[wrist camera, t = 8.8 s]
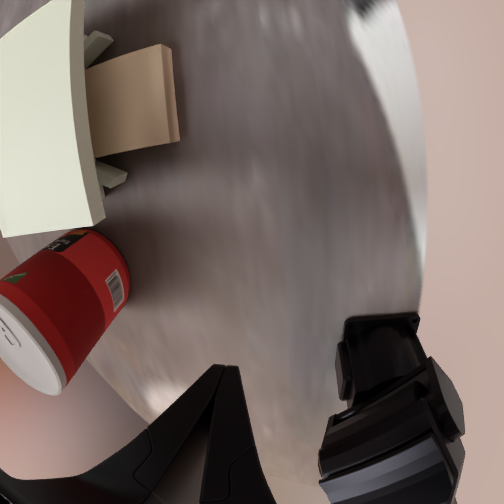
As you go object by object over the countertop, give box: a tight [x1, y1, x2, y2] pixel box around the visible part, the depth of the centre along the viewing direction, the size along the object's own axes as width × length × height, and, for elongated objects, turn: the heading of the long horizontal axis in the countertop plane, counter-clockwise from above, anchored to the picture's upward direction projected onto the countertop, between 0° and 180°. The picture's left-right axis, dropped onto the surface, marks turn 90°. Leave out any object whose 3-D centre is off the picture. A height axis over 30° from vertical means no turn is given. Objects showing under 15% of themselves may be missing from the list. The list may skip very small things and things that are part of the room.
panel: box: [84, 44, 180, 158], centre depth 16 cm, size 10×6×2 cm, turn 95°
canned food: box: [0, 229, 130, 396], centre depth 18 cm, size 8×8×11 cm
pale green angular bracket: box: [0, 0, 128, 238], centre depth 14 cm, size 9×13×7 cm
